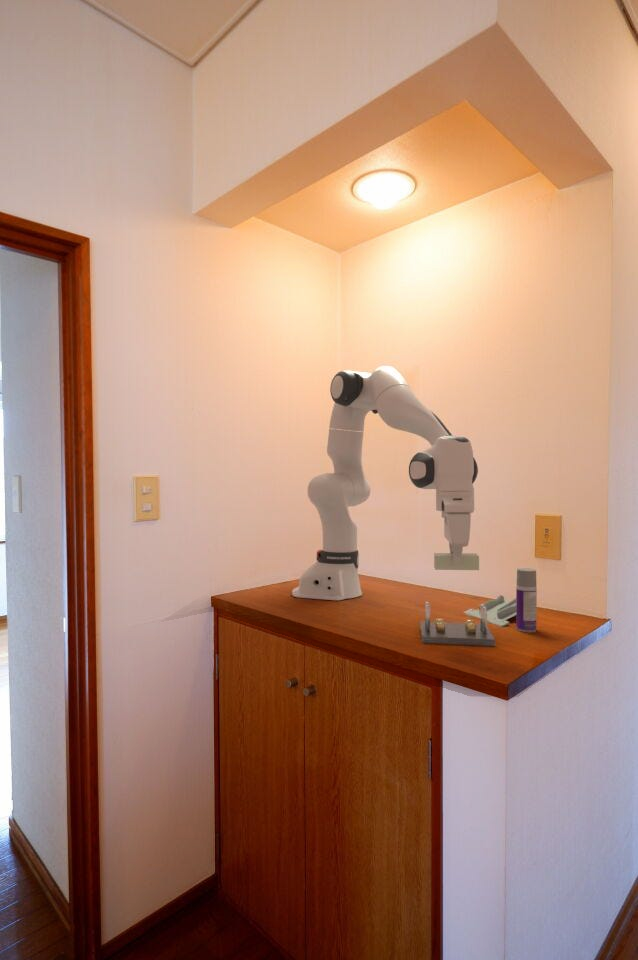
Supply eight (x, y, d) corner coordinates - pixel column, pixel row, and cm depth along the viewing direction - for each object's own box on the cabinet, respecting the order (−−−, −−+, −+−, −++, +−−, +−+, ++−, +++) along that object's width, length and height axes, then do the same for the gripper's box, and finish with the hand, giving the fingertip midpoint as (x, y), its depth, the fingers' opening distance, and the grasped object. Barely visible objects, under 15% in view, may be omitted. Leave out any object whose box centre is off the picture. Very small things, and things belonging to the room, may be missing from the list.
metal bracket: (497, 589, 155) (537, 600, 141) (502, 608, 156) (542, 621, 142) (458, 608, 150) (495, 622, 136) (463, 627, 150) (500, 643, 136)
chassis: (422, 642, 123) (422, 610, 123) (420, 627, 136) (420, 597, 136) (495, 646, 121) (495, 612, 121) (485, 629, 134) (485, 599, 134)
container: (513, 627, 136) (513, 567, 136) (532, 627, 136) (532, 567, 136) (519, 632, 131) (520, 571, 131) (539, 632, 131) (539, 571, 131)
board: (435, 569, 127) (435, 556, 127) (434, 566, 132) (433, 553, 132) (479, 570, 125) (479, 556, 125) (476, 566, 130) (476, 553, 130)
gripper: (438, 501, 139) (438, 555, 139) (445, 505, 119) (445, 568, 119) (463, 501, 138) (463, 555, 138) (474, 505, 118) (475, 568, 118)
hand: (455, 561), depth 128 cm, fingers closed on board, 5 cm apart
